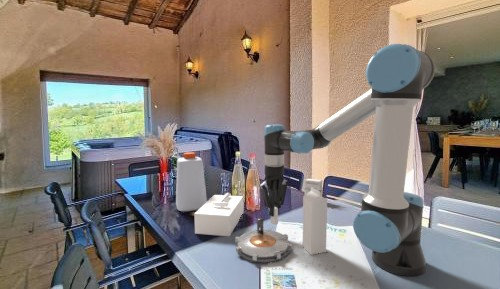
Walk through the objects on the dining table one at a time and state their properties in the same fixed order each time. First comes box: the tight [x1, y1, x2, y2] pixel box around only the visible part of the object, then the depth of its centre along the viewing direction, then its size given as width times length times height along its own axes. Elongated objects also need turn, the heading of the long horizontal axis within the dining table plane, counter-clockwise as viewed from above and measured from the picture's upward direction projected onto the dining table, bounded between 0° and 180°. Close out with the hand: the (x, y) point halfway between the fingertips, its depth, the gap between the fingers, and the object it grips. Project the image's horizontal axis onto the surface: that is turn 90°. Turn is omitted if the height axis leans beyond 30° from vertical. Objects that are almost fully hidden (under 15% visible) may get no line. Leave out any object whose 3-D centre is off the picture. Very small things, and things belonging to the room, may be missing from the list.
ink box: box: [304, 178, 323, 197], centre depth 147 cm, size 9×5×12 cm, turn 58°
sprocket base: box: [235, 243, 291, 264], centre depth 98 cm, size 19×19×1 cm
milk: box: [302, 187, 328, 256], centre depth 95 cm, size 6×6×22 cm
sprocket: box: [234, 217, 293, 261], centre depth 97 cm, size 20×20×7 cm
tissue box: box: [193, 192, 244, 237], centre depth 121 cm, size 14×25×11 cm, turn 169°
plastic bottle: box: [175, 151, 208, 212], centre depth 140 cm, size 15×15×28 cm
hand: (274, 223), depth 108 cm, fingers closed
